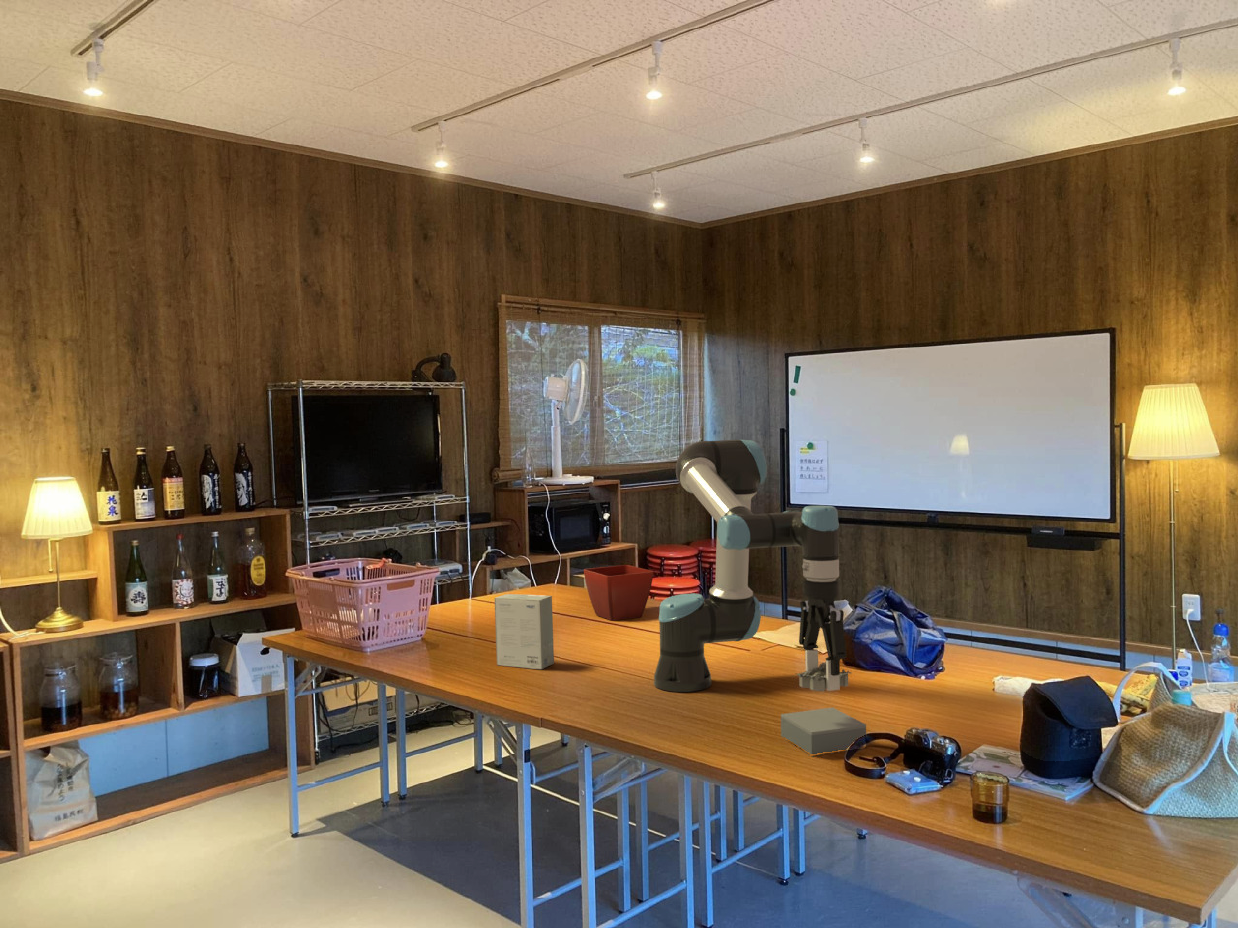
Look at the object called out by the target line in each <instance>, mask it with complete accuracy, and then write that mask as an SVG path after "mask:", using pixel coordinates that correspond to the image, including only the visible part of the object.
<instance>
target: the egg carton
mask: <svg viewBox="0 0 1238 928" xmlns="http://www.w3.org/2000/svg"><path fill="white" fill-rule="evenodd" d="M849 674H850V675H851V674H852V672H851V671H849V670H847V671H846V670H845V669H842V670H841V671H840V687H845V688H846V687H849V685H850V684H849V683H850V682H849ZM795 675H797V677H799V681H798V682H799V687H801V688H803V689H804V688H807V689H809V690H811V691H814V692H815V691H816V692H822V693H823V692H825V691H826V690H827V689H826V661H824V662H822V663H819V664H818V668H813V669H812V670H809V671H806V670H805V671H803V672H799V673H795Z"/></svg>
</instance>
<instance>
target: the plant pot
mask: <svg viewBox="0 0 1238 928" xmlns="http://www.w3.org/2000/svg"><path fill="white" fill-rule="evenodd" d="M583 574H584V580H585V584H586V585H585V586H586V589H587V592H588V593H587V594H588V596H589V600H590V603H591V606H592V608H593V610H594V611H593V612H594V613H595V614H594V615H595V616H598V617H601V618H603V619H606V620H609V621H611V622H612V621H613V622H615V621H620V620H629V619H636V618H642V617H643V615H644V613H645V609H646V606H647V603H648V600H649V596H650V593H651V590H652V589H651V588H652V584H653V579H654V571H653V570H650V569H646V568H641V567H638V566H634V565H629V564H622V565H614V566H613V565H612V566H602V567H593V568H584V569H583Z"/></svg>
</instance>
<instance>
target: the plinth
mask: <svg viewBox="0 0 1238 928" xmlns="http://www.w3.org/2000/svg"><path fill="white" fill-rule="evenodd" d="M864 735H866V736H867V724H866V723H864V722H862V721H860V720H858V719H856V718H854V717H852V716H850V715H848V714H846V713H844V712H842V711H840V710H838V709H836V708H835V707H828V708H819V709H818V708H817V709H811V710H810V709H809V710H805V711H796V712H787V713H781V714H780V737H781V736H782V737H785V738H786V739H788V740H790V741H791V742H793V743H794V744H796V745H798V746H799V747H801V748H802V749H804V750H805V751H807V752H809V753H810V754H817V753H823V752H832V751H838V750H846V749H847V748H848V747H849V746H850V745H851V744H852V743H853V742H855V740H856V739H857V738H859V737H862V736H864ZM782 737H781V738H782Z"/></svg>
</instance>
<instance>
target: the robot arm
mask: <svg viewBox="0 0 1238 928" xmlns="http://www.w3.org/2000/svg"><path fill="white" fill-rule="evenodd" d="M767 473H768V466H767V460H766V456H765V454H764V451H763V449H762V447H761V445H760V444H759V443H757V442H756V441H754V440H752V439H751V440H750V439H748V440H747V439H726V440H725V439H724V440H701V441H696V442H694V443H691V444H690V445H688V446H686V448H684V450H682V452H681V453H680V454H679V456H678V458H677V460H676V464H675V475H676V479H677V481H678V482H679V484H680V485H681V487H682V488H683V489H684V490H685V491H686V492H688V493H690V494H693V495H694V496H695V497H696V499H697V500H698V501H699V502H700V504H701V505H702V506H703V507H704V508H705V510H706V511H707V512H708V514H710V516H711V517H712V518H713V519H714V521H715V522H716V525H717V526H716V548H715V549H716V550H715V551H716V552H715V582H714V585H713V586H712V587H710V588H709V590H708V591H709V593H708V595H709V596H708V598H704V597H703V595H702V594H701V593H682V594H681V593H680V594H676V595H672V596H669V597H666V598H665V599H664V600H662V601H661V602H660V605H659V611H658V612H659V615H658V622H659V650H660V651H659V659H658V662H657V664H656V668H655V672H654V674H653V685H654V687H655V688H656V689H659V690H662V691H666V692H674V693H675V692H676V693H677V692H678V693H690V692H699V691H702V690H706V689H708V688H710V687H711V686H712V675H711V672H710V669H709V665H708V662H707V660H706V657H705V644H714V643H725V642H742V641H745V640H750V639H752V638H753V637H754V636H755V635H756V634H757V633H758V631H759V627H760V624H761V621H762V619H761V618H762V614H761V612H762V610H761V608H760V607H761V605H760V601H759V600H758V598H757V597H756V596H755V595H754V591H753V590H752V589H751V588H750V587H749V561H750V560H749V559H750V558H749V557H750V556H749V555H750V549H751V550H752V549H765V548H782V547H801V548H802V566H801V567H802V576H803V577H804V579H803V581H802V594H803V596H804V598H806V599H807V600H801V601H800V603H799V604H800V623H799V637H798V638H799V639H798V644H799V645H800V646H801V645H802V647H803V650H804V651H805V652H804V654H805V655H804V657H805V658H804V660H805V671H809V670H812V669H813V668H818V667H819V649H818V648H819V645H817V643H818V638H819V634H820V631H821V629H822V633H823V639H824V644H825V647H826V652H827V657H826V658H825V662H826V689H825V690H826V691H827V692H832V691H840V688H841V686H840V672H841V671H840V670H841V666H840V665H841V662H840V661H841V660H843V659H847V648H846V638H845V627H844V614H845V612H844V610H843V609H839V610H838V609H837V608H836V605H835V600H836V599H837V598H839V597H840V580H838V579H839V577H840V560H839V559H840V558H839V554H840V549H839V547H840V546H839V544H840V543H839V540H840V539H839V533H840V529H839V527H840V523H839V514H838V509H837V508H836V507H835V506H831V505H808V506H804V507H803V508H802V510H801V511H800V510H786V511H783V512H774V513H773V512H771V513H753V512H752V510H751V508H752V507H751V505H752V504H751V503H752V498H753V497H754V496H755V495H757V493H758V485H761V484H764V483H765V481H766V478H767V475H768V474H767Z"/></svg>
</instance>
